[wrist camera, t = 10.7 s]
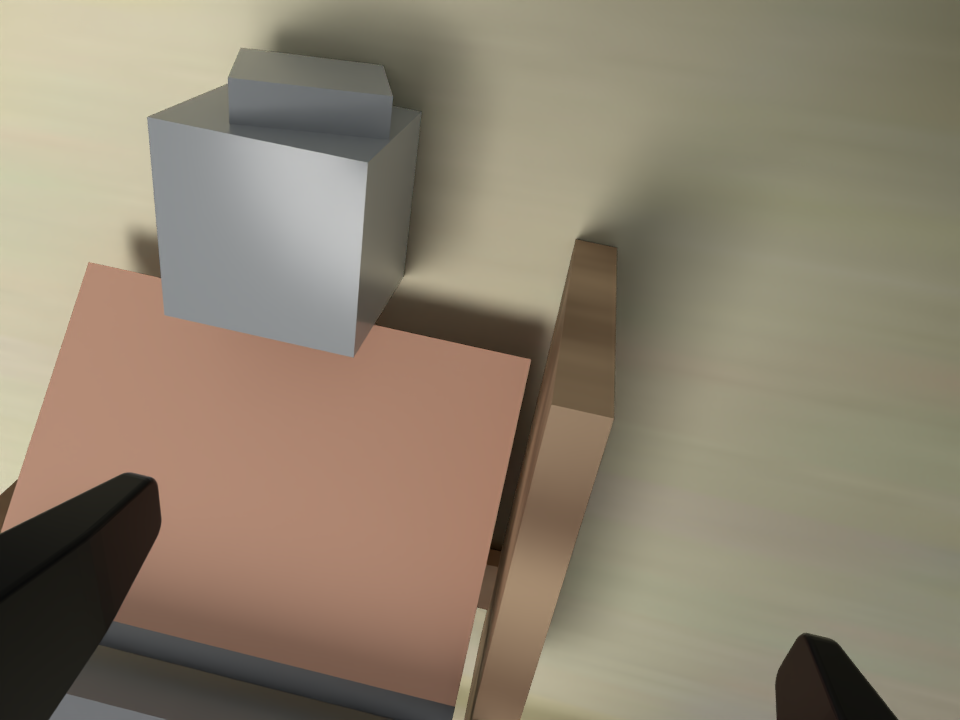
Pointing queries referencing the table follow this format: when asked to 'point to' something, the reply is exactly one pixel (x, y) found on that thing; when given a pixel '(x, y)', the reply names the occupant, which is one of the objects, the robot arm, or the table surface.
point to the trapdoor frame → (544, 487)
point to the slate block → (285, 199)
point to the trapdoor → (277, 510)
